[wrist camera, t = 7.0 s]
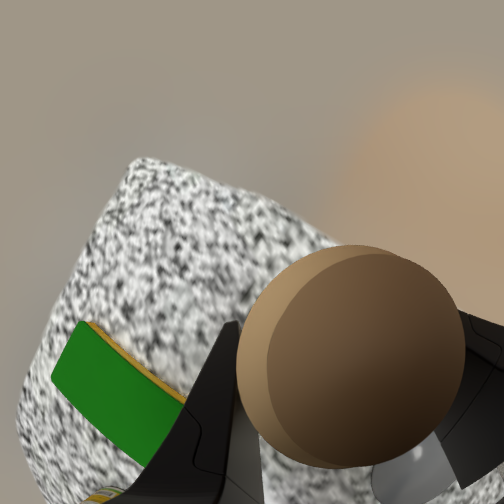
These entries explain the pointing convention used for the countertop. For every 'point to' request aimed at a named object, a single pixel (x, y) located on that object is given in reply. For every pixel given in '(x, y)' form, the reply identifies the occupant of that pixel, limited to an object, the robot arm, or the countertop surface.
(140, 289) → the countertop surface
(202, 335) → the countertop surface
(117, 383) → the dish sponge
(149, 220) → the countertop surface
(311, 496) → the countertop surface
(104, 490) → the supplement bottle
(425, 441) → the slate coaster
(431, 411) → the brown cylinder
